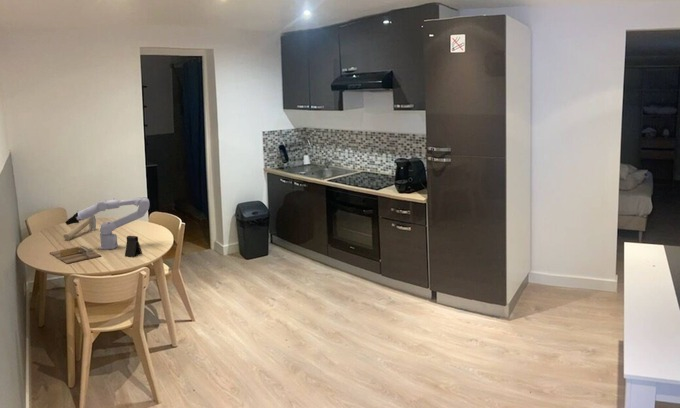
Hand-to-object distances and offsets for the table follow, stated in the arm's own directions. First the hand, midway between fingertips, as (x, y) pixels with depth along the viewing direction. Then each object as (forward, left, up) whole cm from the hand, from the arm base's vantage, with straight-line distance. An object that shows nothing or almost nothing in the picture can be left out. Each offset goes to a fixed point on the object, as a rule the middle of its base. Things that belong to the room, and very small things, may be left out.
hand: (67, 222), depth 338 cm
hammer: (+10, -37, -19) cm, 42 cm away
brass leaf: (-6, +11, -17) cm, 21 cm away
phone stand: (-42, +8, -19) cm, 47 cm away
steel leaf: (-13, +11, -18) cm, 24 cm away
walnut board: (-7, +9, -18) cm, 22 cm away
